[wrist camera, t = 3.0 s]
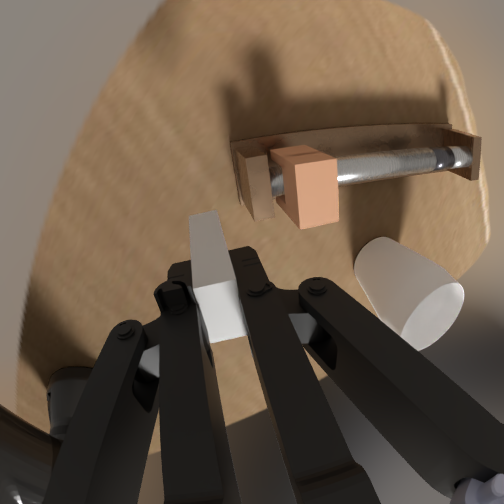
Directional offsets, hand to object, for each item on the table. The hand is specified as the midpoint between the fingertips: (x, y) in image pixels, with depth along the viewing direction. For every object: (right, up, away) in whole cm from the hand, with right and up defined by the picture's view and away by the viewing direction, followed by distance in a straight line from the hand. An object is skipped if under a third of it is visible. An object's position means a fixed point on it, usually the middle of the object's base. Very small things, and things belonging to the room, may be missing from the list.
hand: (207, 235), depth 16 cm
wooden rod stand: (+14, +9, +12) cm, 21 cm away
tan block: (+6, +6, +9) cm, 12 cm away
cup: (+18, -2, +20) cm, 27 cm away
